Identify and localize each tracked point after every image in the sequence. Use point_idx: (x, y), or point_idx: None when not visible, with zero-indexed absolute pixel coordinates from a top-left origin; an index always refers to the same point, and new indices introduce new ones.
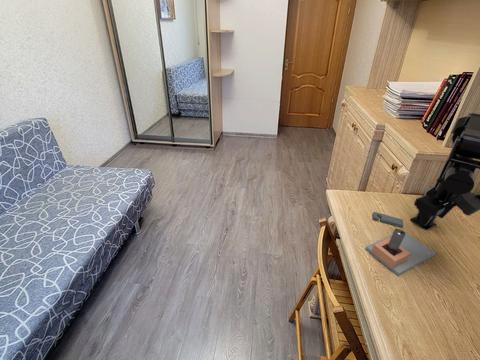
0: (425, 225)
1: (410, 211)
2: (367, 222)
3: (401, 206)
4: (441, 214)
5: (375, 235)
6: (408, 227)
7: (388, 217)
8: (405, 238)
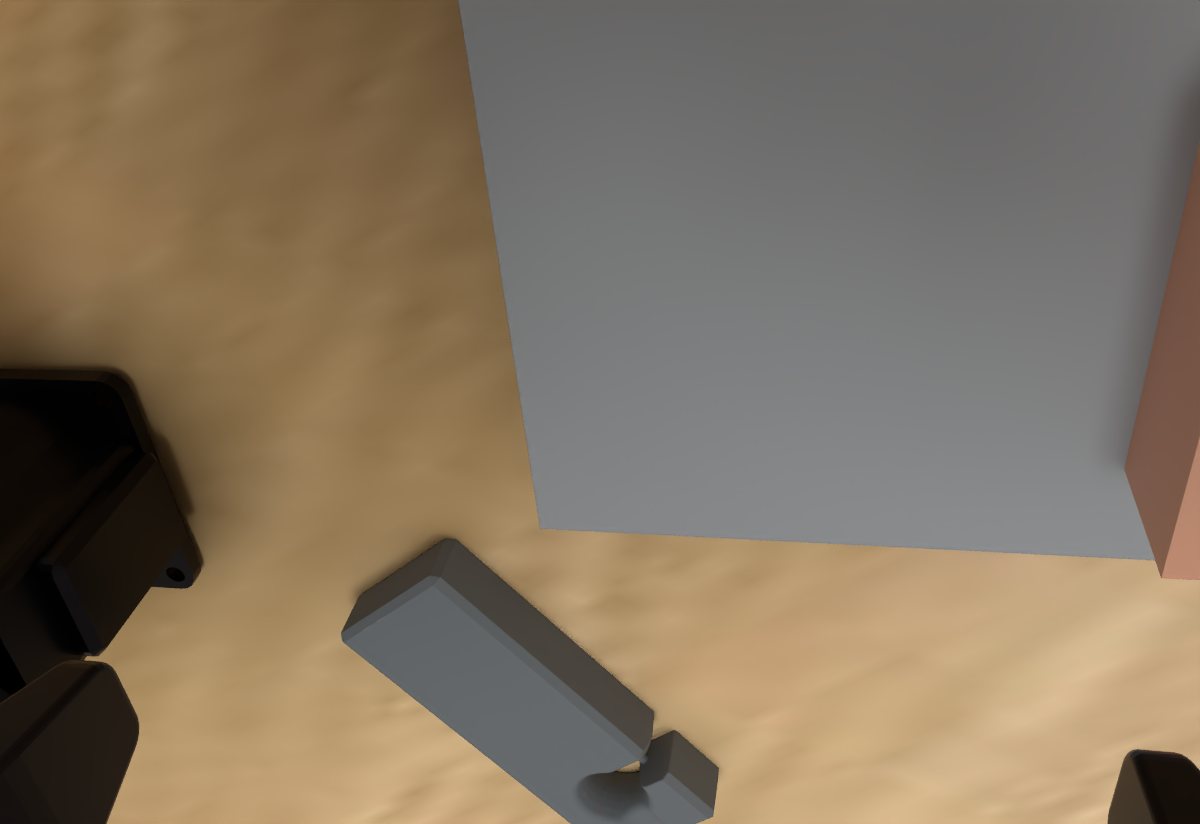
0: (1163, 783)
1: None
2: (833, 777)
3: None
4: (57, 807)
5: (989, 617)
6: (343, 507)
7: (514, 735)
8: (665, 412)
